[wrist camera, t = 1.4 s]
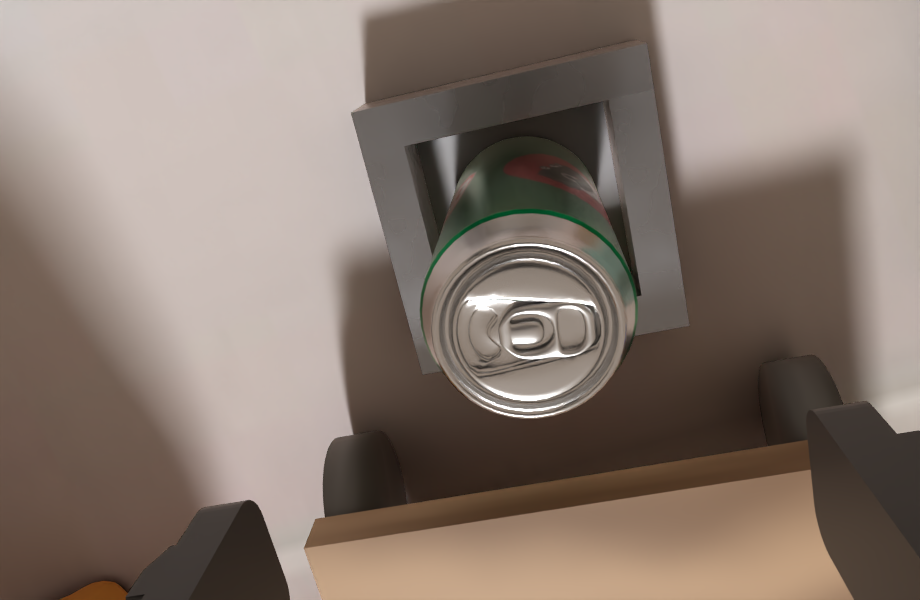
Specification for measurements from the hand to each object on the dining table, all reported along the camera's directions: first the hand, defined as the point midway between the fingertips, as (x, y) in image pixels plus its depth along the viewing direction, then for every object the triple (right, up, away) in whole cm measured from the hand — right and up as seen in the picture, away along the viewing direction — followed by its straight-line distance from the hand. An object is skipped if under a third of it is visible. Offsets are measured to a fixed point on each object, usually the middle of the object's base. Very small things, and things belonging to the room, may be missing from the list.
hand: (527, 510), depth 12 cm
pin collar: (+1, +6, +17) cm, 19 cm away
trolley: (+5, -6, +22) cm, 23 cm away
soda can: (+1, +7, +17) cm, 19 cm away
